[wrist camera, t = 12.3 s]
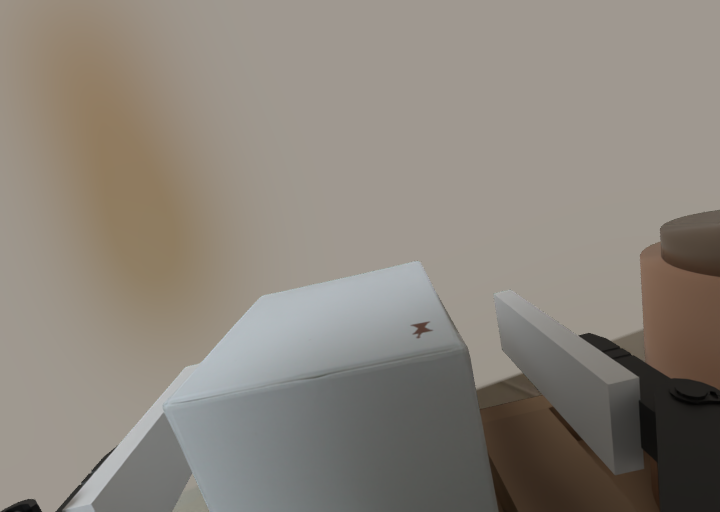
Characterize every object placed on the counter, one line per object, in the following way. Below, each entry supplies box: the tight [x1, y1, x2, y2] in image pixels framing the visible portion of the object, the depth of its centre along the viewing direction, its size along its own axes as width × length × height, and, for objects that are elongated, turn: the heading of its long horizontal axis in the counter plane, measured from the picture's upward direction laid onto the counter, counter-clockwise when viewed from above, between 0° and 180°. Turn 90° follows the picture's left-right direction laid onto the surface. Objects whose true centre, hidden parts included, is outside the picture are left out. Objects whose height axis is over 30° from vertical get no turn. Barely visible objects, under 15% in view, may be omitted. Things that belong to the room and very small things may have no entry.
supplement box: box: [162, 261, 499, 512], centre depth 12 cm, size 7×7×13 cm
